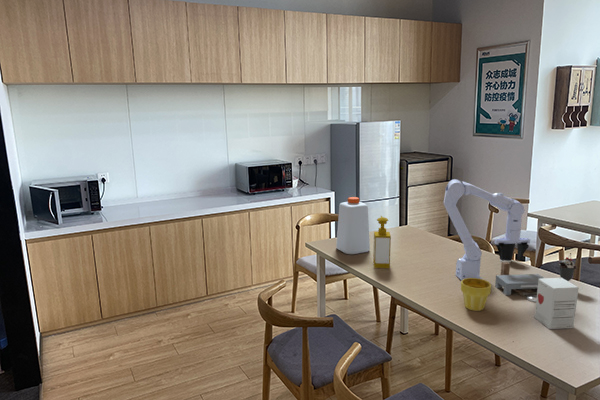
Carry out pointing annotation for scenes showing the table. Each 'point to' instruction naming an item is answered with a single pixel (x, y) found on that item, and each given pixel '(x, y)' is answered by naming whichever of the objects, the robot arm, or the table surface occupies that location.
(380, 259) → the soap bottle
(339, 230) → the plastic bottle
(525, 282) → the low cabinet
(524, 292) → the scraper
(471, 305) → the plant pot
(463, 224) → the robot arm
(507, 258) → the dixie cup
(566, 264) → the sundae
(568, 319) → the supplement box
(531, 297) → the steel disc
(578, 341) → the table surface
